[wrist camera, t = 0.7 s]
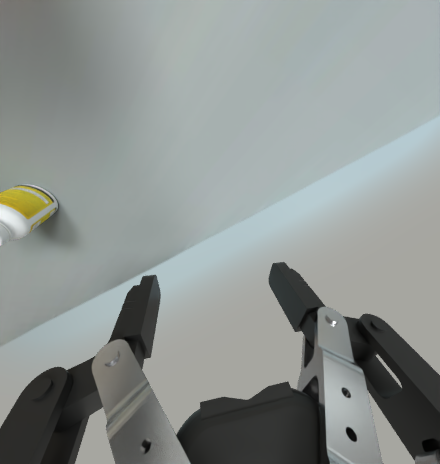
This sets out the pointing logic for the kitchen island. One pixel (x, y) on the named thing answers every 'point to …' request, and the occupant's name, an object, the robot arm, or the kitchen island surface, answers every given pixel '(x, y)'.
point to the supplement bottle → (24, 210)
